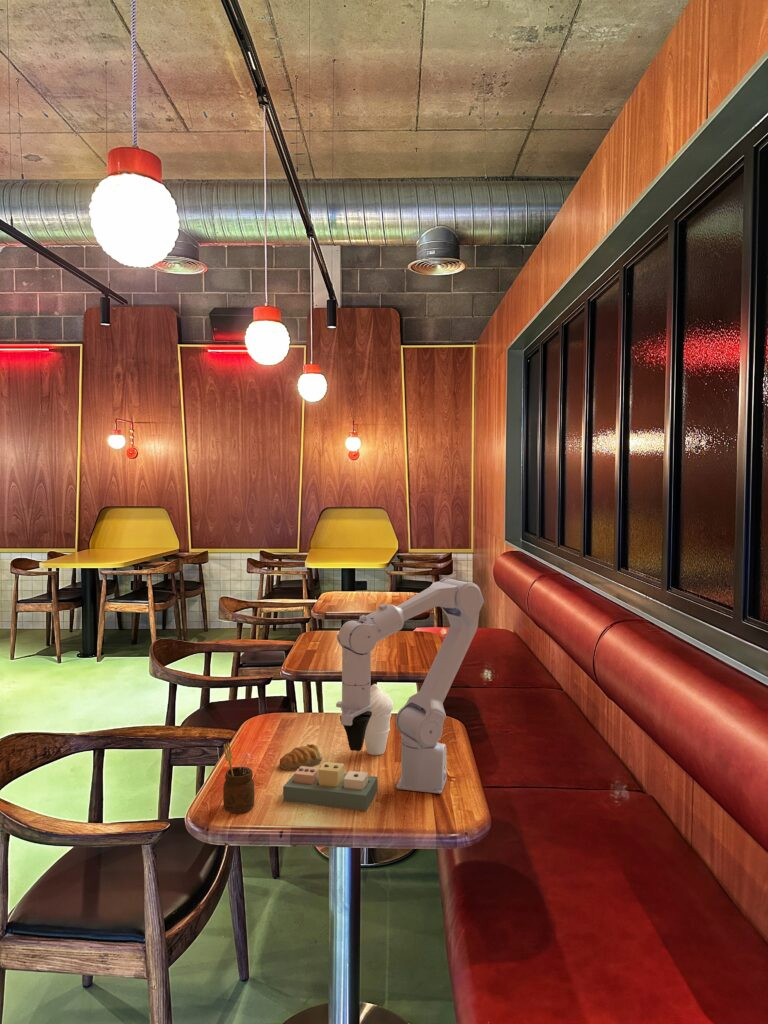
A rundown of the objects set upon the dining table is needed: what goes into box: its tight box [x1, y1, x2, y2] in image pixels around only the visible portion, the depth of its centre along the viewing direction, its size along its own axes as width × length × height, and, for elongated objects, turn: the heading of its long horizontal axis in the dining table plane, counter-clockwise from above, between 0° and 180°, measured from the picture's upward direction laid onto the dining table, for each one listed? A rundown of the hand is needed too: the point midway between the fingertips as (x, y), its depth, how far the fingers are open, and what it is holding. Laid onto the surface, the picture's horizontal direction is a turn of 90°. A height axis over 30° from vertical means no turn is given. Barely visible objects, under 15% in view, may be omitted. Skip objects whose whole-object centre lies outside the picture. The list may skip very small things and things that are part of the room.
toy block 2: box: [319, 761, 345, 787], centre depth 139 cm, size 4×4×5 cm
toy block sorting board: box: [282, 772, 379, 812], centre depth 139 cm, size 17×9×3 cm, turn 77°
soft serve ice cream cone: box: [364, 683, 395, 756], centre depth 162 cm, size 8×8×16 cm
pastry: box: [278, 743, 323, 771], centre depth 155 cm, size 9×7×4 cm
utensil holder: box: [222, 741, 255, 814], centre depth 133 cm, size 6×6×12 cm
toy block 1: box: [293, 766, 320, 785], centre depth 140 cm, size 4×4×5 cm
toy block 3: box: [344, 770, 369, 790], centre depth 137 cm, size 4×4×5 cm
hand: (356, 749), depth 137 cm, fingers closed
